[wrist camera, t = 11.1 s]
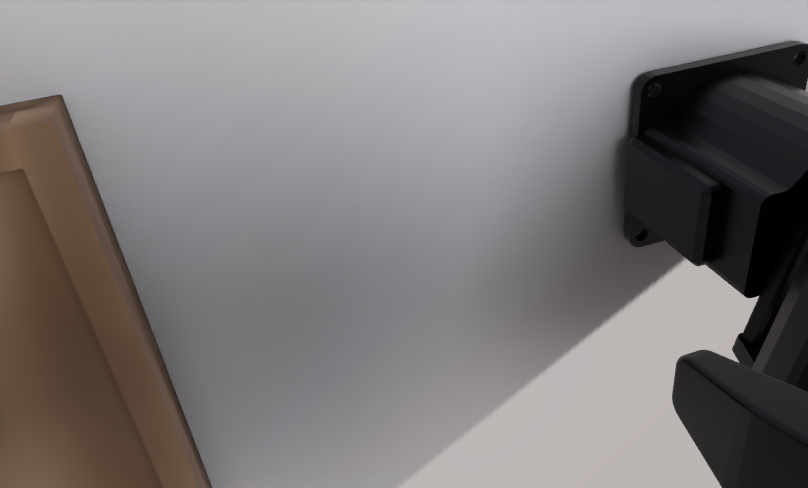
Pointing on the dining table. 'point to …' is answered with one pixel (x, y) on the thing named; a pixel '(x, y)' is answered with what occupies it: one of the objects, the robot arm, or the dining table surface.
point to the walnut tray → (75, 328)
